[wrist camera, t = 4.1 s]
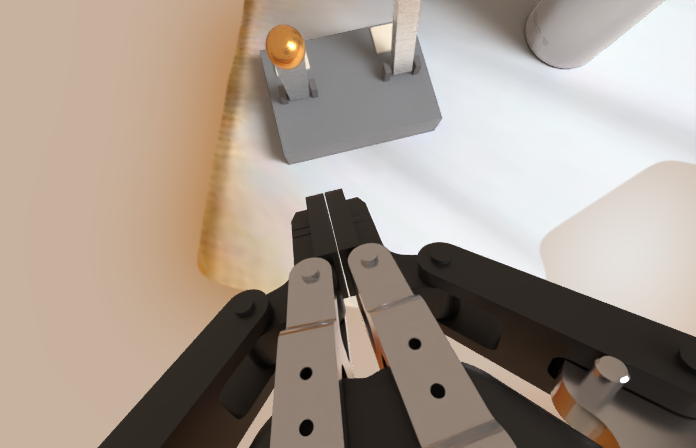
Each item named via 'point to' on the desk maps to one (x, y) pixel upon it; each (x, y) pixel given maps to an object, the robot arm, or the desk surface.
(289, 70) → the lever
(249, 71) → the desk surface
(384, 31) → the switch console
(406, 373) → the robot arm
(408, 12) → the lever
